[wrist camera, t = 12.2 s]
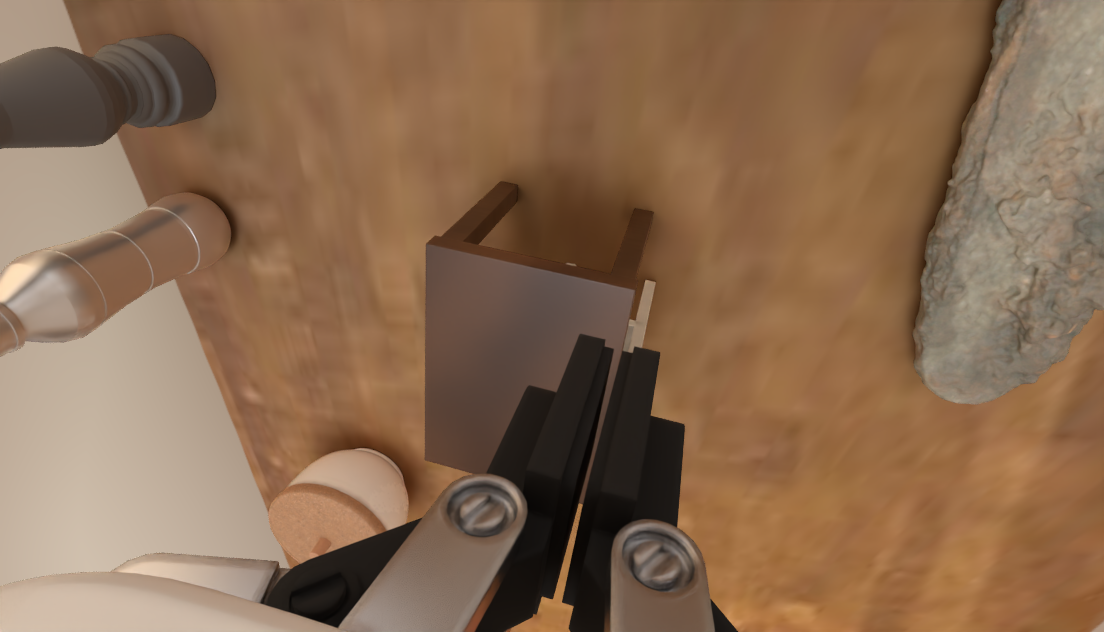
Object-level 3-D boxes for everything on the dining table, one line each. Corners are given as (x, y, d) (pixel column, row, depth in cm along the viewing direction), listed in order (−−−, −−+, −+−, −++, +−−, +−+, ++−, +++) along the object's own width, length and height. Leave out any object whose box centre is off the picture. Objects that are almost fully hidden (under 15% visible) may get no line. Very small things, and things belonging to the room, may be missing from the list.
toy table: (657, 209, 42) (635, 290, 31) (616, 394, 51) (588, 506, 40) (497, 178, 44) (425, 243, 33) (484, 361, 53) (424, 460, 42)
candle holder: (220, 59, 44) (-226, 134, 23) (211, 132, 48) (-188, 255, 27) (147, 18, 44) (-370, 55, 23) (142, 94, 48) (-313, 187, 27)
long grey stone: (1313, -269, 26) (1044, -237, 28) (1432, -331, 21) (1099, -285, 24) (1035, 397, 41) (878, 377, 44) (1069, 443, 37) (893, 418, 39)
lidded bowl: (371, 411, 59) (306, 491, 50) (450, 496, 63) (403, 586, 53) (299, 451, 65) (229, 529, 56) (375, 526, 69) (321, 612, 59)
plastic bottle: (250, 214, 51) (17, 330, 34) (232, 269, 54) (14, 399, 38) (184, 170, 50) (-85, 267, 33) (171, 229, 54) (-78, 343, 37)
